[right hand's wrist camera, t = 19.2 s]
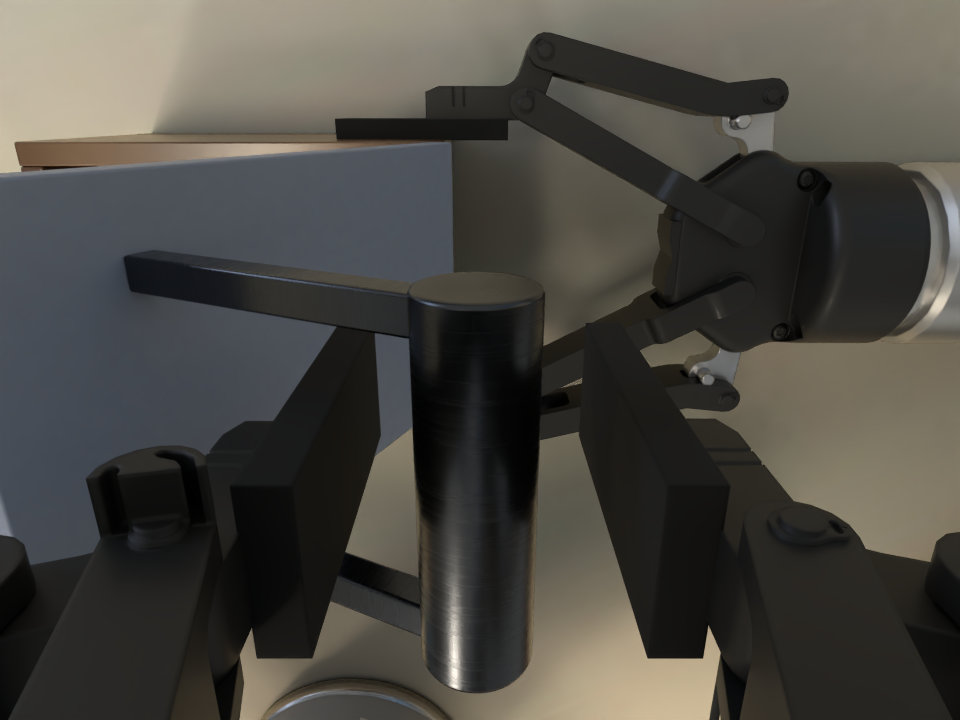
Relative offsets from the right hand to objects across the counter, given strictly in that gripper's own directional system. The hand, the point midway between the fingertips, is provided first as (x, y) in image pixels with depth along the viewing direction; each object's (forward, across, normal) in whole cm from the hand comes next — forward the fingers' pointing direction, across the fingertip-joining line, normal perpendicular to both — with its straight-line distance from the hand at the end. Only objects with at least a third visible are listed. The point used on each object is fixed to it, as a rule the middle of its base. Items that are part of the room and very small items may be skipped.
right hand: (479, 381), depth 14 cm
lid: (+3, +5, 0) cm, 6 cm away
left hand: (+14, +5, 0) cm, 15 cm away
